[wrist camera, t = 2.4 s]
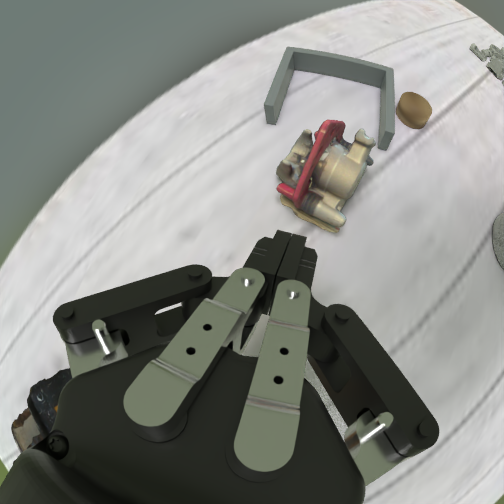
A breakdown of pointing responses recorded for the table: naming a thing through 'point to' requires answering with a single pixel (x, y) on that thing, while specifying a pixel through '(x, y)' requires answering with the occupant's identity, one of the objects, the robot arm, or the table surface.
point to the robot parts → (492, 59)
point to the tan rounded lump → (413, 110)
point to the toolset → (39, 411)
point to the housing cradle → (337, 68)
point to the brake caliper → (323, 173)
